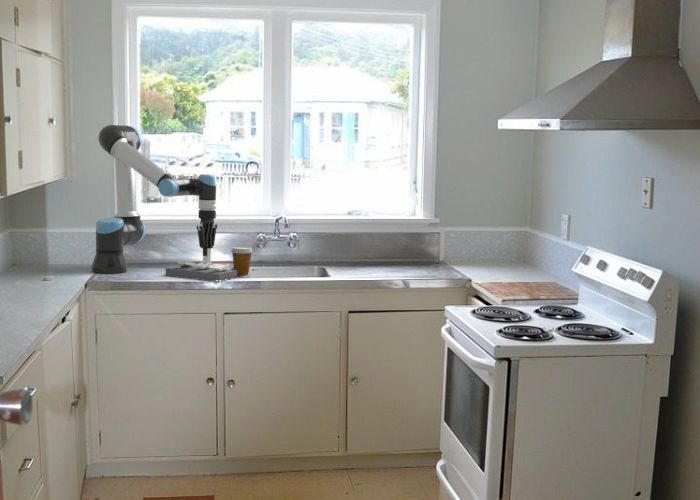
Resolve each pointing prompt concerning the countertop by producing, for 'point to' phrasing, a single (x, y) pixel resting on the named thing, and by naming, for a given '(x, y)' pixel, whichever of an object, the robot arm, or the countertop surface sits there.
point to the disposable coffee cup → (241, 259)
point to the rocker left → (186, 263)
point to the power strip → (200, 272)
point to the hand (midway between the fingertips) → (206, 262)
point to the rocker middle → (203, 265)
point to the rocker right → (220, 267)
